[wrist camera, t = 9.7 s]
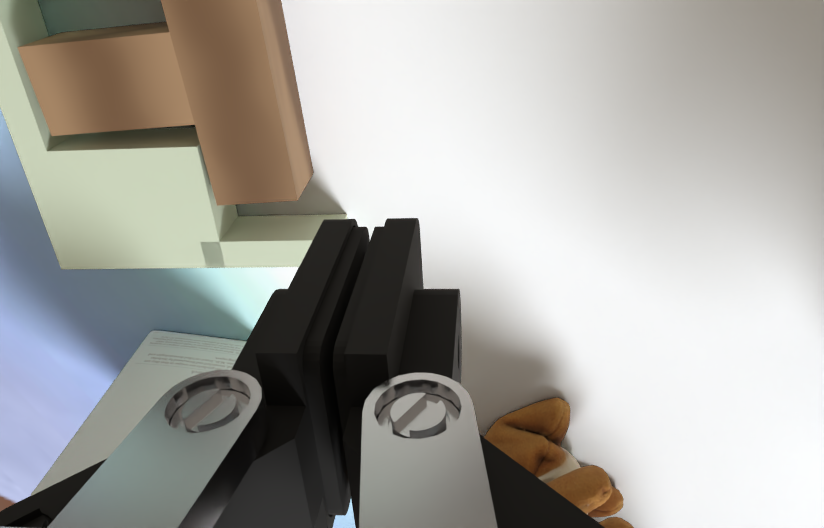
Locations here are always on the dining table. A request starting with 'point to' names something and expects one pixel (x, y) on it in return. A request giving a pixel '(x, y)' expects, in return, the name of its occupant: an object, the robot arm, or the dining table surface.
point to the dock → (131, 186)
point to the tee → (188, 90)
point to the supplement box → (140, 394)
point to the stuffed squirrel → (556, 458)
